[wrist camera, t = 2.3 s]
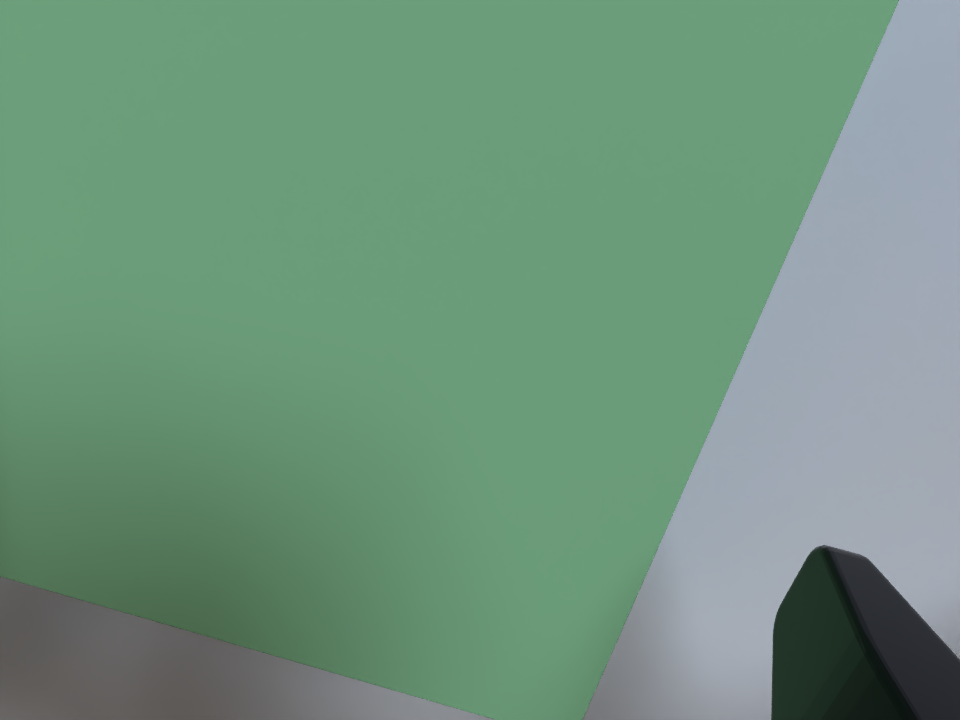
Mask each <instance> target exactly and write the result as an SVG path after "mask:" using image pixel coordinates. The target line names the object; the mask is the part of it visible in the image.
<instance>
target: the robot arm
mask: <svg viewBox="0 0 960 720" xmlns="http://www.w3.org/2000/svg"><path fill="white" fill-rule="evenodd" d="M771 720H960V659H959V658H958V657H957V656H956V655H955V654H954V653H953V652H952V651H951V650H950V648H949V647H948V646H947V645H946V644H945V643H944V642H943V641H942V640H941V639H940V637H939V636H938V635H937V634H936V633H935V632H934V631H933V630H932V629H931V627H930V626H929V625H928V624H927V623H926V622H925V621H924V620H923V619H922V618H921V616H920V615H919V614H918V613H917V612H916V611H915V610H914V609H913V608H912V606H911V605H910V604H909V603H908V602H907V601H906V600H905V599H904V598H903V597H902V595H901V594H900V593H899V592H898V591H897V590H896V589H895V588H894V587H893V586H892V584H891V583H890V582H889V581H888V580H887V579H886V578H885V577H884V576H883V574H882V573H881V572H880V571H879V570H878V569H877V568H876V567H875V566H874V565H873V563H872V562H871V561H869V560H868V559H867V558H866V557H864V556H862V555H860V554H856V553H852V552H849V551H845V550H841V549H838V548H834V547H830V546H827V545H823V546H819V547H816V548H815V549H814V550H813V551H812V552H811V553H810V554H809V556H808V557H807V559H806V561H805V562H804V564H803V566H802V568H801V569H800V571H799V573H798V575H797V576H796V578H795V580H794V582H793V584H792V585H791V587H790V589H789V591H788V592H787V594H786V596H785V598H784V599H783V601H782V603H781V605H780V607H779V609H778V612H777V615H776V618H775V623H774V629H773V664H772V715H771Z"/></svg>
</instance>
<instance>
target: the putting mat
mask: <svg viewBox="0 0 960 720" xmlns="http://www.w3.org/2000/svg"><path fill="white" fill-rule="evenodd" d="M898 1H899V0H0V577H4V578H7V579H11V580H14V581H17V582H21V583H24V584H28V585H31V586H35V587H38V588H42V589H45V590H49V591H52V592H56V593H59V594H62V595H66V596H69V597H73V598H76V599H80V600H83V601H87V602H90V603H94V604H97V605H100V606H104V607H107V608H111V609H114V610H118V611H121V612H125V613H128V614H132V615H135V616H139V617H142V618H145V619H149V620H152V621H156V622H159V623H163V624H166V625H170V626H173V627H177V628H180V629H184V630H187V631H190V632H194V633H197V634H201V635H204V636H208V637H211V638H215V639H218V640H222V641H225V642H229V643H232V644H235V645H239V646H242V647H246V648H249V649H253V650H256V651H260V652H263V653H267V654H270V655H274V656H277V657H280V658H284V659H287V660H291V661H294V662H298V663H301V664H305V665H308V666H312V667H315V668H319V669H322V670H325V671H329V672H332V673H336V674H339V675H343V676H346V677H350V678H353V679H357V680H360V681H364V682H367V683H370V684H374V685H377V686H381V687H384V688H388V689H391V690H395V691H398V692H402V693H405V694H409V695H412V696H415V697H419V698H422V699H426V700H429V701H433V702H436V703H440V704H443V705H447V706H450V707H454V708H457V709H460V710H464V711H467V712H471V713H474V714H478V715H481V716H485V717H488V718H492V719H495V720H582V719H583V717H584V715H585V713H586V710H587V708H588V706H589V704H590V701H591V699H592V697H593V694H594V692H595V690H596V688H597V685H598V683H599V681H600V679H601V676H602V674H603V672H604V669H605V667H606V665H607V663H608V660H609V658H610V656H611V654H612V651H613V649H614V647H615V644H616V642H617V640H618V638H619V635H620V633H621V631H622V629H623V626H624V624H625V622H626V619H627V617H628V615H629V613H630V610H631V608H632V606H633V604H634V601H635V599H636V597H637V594H638V592H639V590H640V588H641V585H642V583H643V581H644V579H645V576H646V574H647V572H648V569H649V567H650V565H651V563H652V560H653V558H654V556H655V554H656V551H657V549H658V547H659V544H660V542H661V540H662V538H663V535H664V533H665V531H666V529H667V526H668V524H669V522H670V519H671V517H672V515H673V513H674V510H675V508H676V506H677V504H678V501H679V499H680V497H681V494H682V492H683V490H684V488H685V485H686V483H687V481H688V479H689V476H690V474H691V472H692V469H693V467H694V465H695V463H696V460H697V458H698V456H699V454H700V451H701V449H702V447H703V444H704V442H705V440H706V438H707V435H708V433H709V431H710V429H711V426H712V424H713V422H714V419H715V417H716V415H717V413H718V410H719V408H720V406H721V404H722V401H723V399H724V397H725V394H726V392H727V390H728V388H729V385H730V383H731V381H732V379H733V376H734V374H735V372H736V369H737V367H738V365H739V363H740V360H741V358H742V356H743V354H744V351H745V349H746V347H747V344H748V342H749V340H750V338H751V335H752V333H753V331H754V329H755V326H756V324H757V322H758V319H759V317H760V315H761V313H762V310H763V308H764V306H765V304H766V301H767V299H768V297H769V294H770V292H771V290H772V288H773V285H774V283H775V281H776V279H777V276H778V274H779V272H780V269H781V267H782V265H783V263H784V260H785V258H786V256H787V254H788V251H789V249H790V247H791V244H792V242H793V240H794V238H795V235H796V233H797V231H798V229H799V226H800V224H801V222H802V219H803V217H804V215H805V213H806V210H807V208H808V206H809V204H810V201H811V199H812V197H813V194H814V192H815V190H816V188H817V185H818V183H819V181H820V179H821V176H822V174H823V172H824V169H825V167H826V165H827V163H828V160H829V158H830V156H831V154H832V151H833V149H834V147H835V144H836V142H837V140H838V138H839V135H840V133H841V131H842V129H843V126H844V124H845V122H846V119H847V117H848V115H849V113H850V110H851V108H852V106H853V104H854V101H855V99H856V97H857V94H858V92H859V90H860V88H861V85H862V83H863V81H864V79H865V76H866V74H867V72H868V69H869V67H870V65H871V63H872V60H873V58H874V56H875V54H876V51H877V49H878V47H879V44H880V42H881V40H882V38H883V35H884V33H885V31H886V29H887V26H888V24H889V22H890V19H891V17H892V15H893V13H894V10H895V8H896V6H897V3H898Z"/></svg>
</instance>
